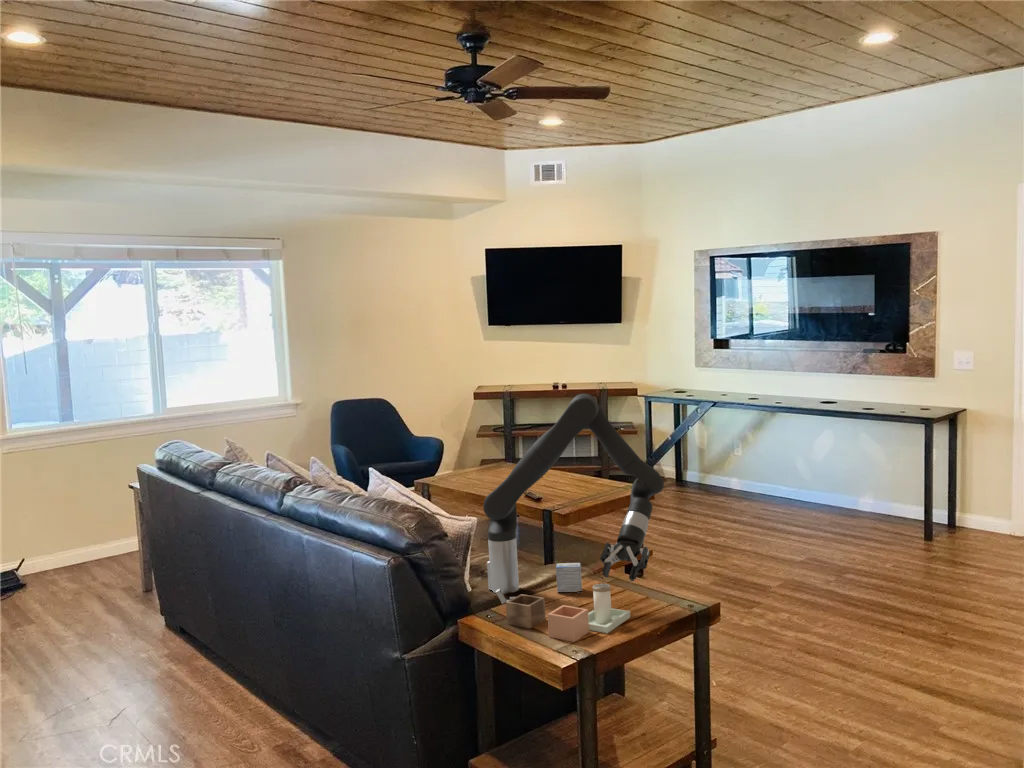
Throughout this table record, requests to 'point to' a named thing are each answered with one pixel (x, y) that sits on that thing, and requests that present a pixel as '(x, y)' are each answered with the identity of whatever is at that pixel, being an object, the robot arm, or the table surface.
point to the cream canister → (602, 603)
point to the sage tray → (617, 619)
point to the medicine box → (568, 577)
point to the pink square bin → (568, 623)
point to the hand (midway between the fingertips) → (617, 577)
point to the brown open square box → (525, 611)
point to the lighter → (502, 596)
